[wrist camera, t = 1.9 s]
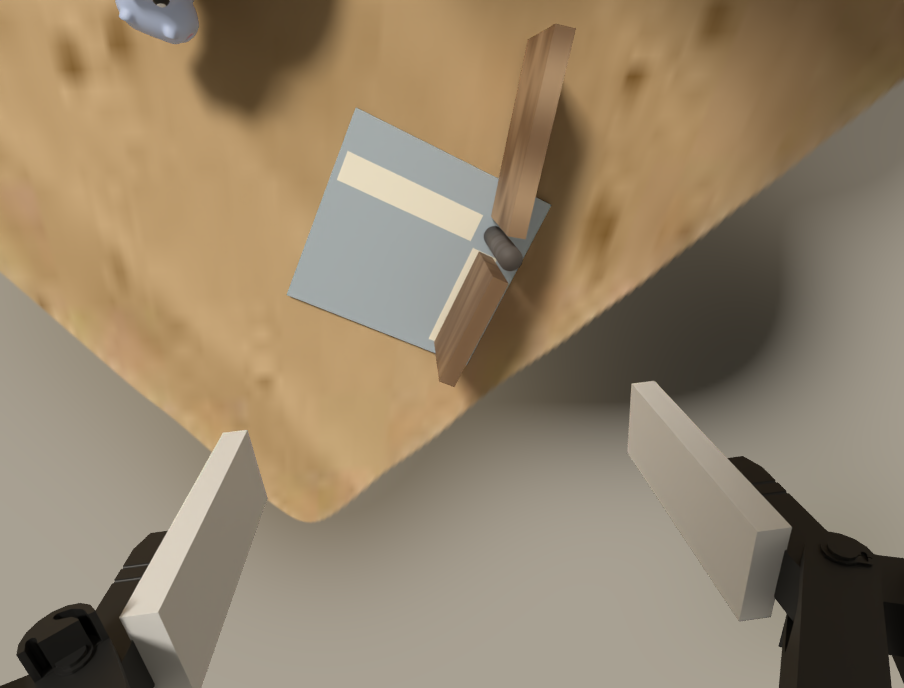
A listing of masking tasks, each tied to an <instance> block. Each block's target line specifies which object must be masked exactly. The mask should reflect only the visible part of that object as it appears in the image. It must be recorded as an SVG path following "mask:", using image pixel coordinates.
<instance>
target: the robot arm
mask: <svg viewBox="0 0 904 688" xmlns="http://www.w3.org/2000/svg"><path fill="white" fill-rule="evenodd" d="M629 419H630V420H629V435H628V451H627V453H628V454H629V456H630V458H631V459H632V461H633V462H634V463H635V465H636V467H637V468H638V470H639V471H640V473H641V474H642V476H643V477H644V479H645V480H646V482H647V483H648V485H649V486H650V488H651V489H652V491H653V492H654V494H655V495H656V497H657V498H658V500H659V501H660V503H661V504H662V506H663V507H664V509H665V510H666V512H667V513H668V515H669V516H670V518H671V519H672V521H673V522H674V524H675V525H676V527H677V529H678V530H679V531H680V533H681V535H682V536H683V538H684V539H685V541H686V542H687V544H688V545H689V546H690V548H691V550H692V551H693V553H694V554H695V556H696V557H697V559H698V560H699V562H700V563H701V565H702V566H703V568H704V569H705V571H706V572H707V574H708V575H709V577H710V578H711V580H712V581H713V583H714V584H715V586H716V587H717V589H718V590H719V592H720V593H721V595H722V596H723V598H724V599H725V601H726V603H727V604H728V606H729V607H730V609H731V610H732V611H733V613H734V615H735V616H736V618H737V619H738V621H746V620H753V619H760V618H767V617H771V614H772V609H773V605H774V601H775V599H776V600H777V601H778V603H779V604H780V605H781V606H782V608H783V609H784V610H785V612H786V613H787V615H786V619H785V623H784V627H783V631H782V635H781V639H780V643H779V647H782V657H781V669H780V681H779V688H892V687H891V677H890V667H889V657H888V655H892V657H893V659H894V661H895V663H896V666H897V668H898V671H899V673H900V676H901V678H902V680H903V683H904V558H897V557H888V556H880V555H875V554H873V553H872V552H871V551H870V550H869V549H868V548H867V547H866V546H864V545H863V544H861V543H860V542H858V541H857V540H855V539H853V538H850V537H848V536H845V535H842V534H839V533H833V532H828V531H827V530H826V529H824V528H823V527H822V526H821V525H820V524H819V523H818V522H817V521H816V520H815V519H814V518H813V517H812V516H811V515H810V514H809V513H808V512H807V511H806V510H805V509H804V508H803V507H802V506H801V505H800V504H799V503H798V502H797V501H796V500H795V499H794V498H793V497H792V496H791V495H790V494H788V493H786V490H785V489H784V488H783V487H782V486H781V485H780V484H779V483H776V482H775V479H774V478H772V476H771V475H770V474H769V473H768V472H767V471H765V470H764V469H763V468H762V467H761V466H759V465H758V464H756V463H754V462H752V461H751V460H749V459H747V458H745V457H743V456H741V457H733V458H726V457H725V455H724V454H723V453H722V452H721V451H720V450H719V449H718V448H717V447H716V446H715V445H714V444H713V443H712V442H711V440H710V439H709V438H708V437H707V436H706V435H705V434H704V433H703V432H702V431H701V430H700V429H699V428H698V427H697V426H696V425H695V424H694V423H693V421H692V420H691V419H690V418H689V417H688V416H687V415H686V414H685V413H684V412H683V411H682V410H681V409H680V408H679V406H678V405H676V403H675V402H674V401H673V400H672V399H671V398H670V397H669V396H668V395H667V394H666V393H665V392H664V391H663V390H662V388H660V387H659V385H658V384H657V383H656V382H655V381H650V382H642V383H634V384H632V387H631V403H630V418H629ZM266 501H267V495H266V491H265V488H264V484H263V481H262V478H261V474H260V471H259V468H258V464H257V461H256V457H255V454H254V451H253V447H252V444H251V440H250V437H249V434H248V430H243V431H234V432H226V433H223V434H222V436H221V437H220V439H219V441H218V443H217V444H216V446H215V448H214V450H213V452H212V453H211V455H210V457H209V459H208V460H207V462H206V464H205V466H204V468H203V469H202V471H201V473H200V475H199V477H198V478H197V480H196V482H195V484H194V485H193V487H192V489H191V491H190V493H189V494H188V496H187V498H186V500H185V501H184V503H183V505H182V507H181V509H180V510H179V512H178V514H177V516H176V518H175V519H174V521H173V523H172V525H171V527H170V528H169V530H168V531H163V532H156V533H150V534H149V535H148V536H147V537H146V538H145V539H144V540H143V541H142V542H141V543H140V544H138V545H137V546H136V547H135V548H134V549H133V551H132V552H131V554H130V556H129V557H128V559H127V560H126V562H125V564H124V565H123V569H121V570H120V572H119V574H118V575H117V577H116V578H115V582H114V583H113V584H112V585H111V586H110V588H109V590H108V591H107V593H106V594H105V596H104V598H103V599H102V601H101V603H100V604H99V606H98V607H97V609H96V611H95V610H94V609H93V608H92V606H91V605H88V604H82V603H78V604H73V605H68V606H65V607H63V608H60V609H58V610H56V611H54V612H52V613H50V614H49V615H47V616H46V617H44V618H42V619H41V620H40V621H38V622H37V623H36V624H35V625H34V626H33V627H32V628H31V629H30V630H29V631H28V632H26V634H25V635H24V637H23V638H22V640H21V642H20V643H19V645H18V650H17V657H18V658H19V660H20V661H21V663H22V665H23V666H24V668H25V669H26V671H27V672H28V674H29V675H27V676H25V677H22V678H19V679H17V680H14V681H12V682H10V683H7V684H5V685H2V686H0V688H201V686H202V684H203V681H204V678H205V675H206V672H207V669H208V666H209V664H210V661H211V658H212V655H213V652H214V649H215V647H216V643H217V641H218V638H219V635H220V632H221V629H222V627H223V623H224V621H225V618H226V615H227V612H228V609H229V607H230V604H231V601H232V598H233V595H234V592H235V590H236V587H237V584H238V581H239V578H240V575H241V572H242V569H243V567H244V564H245V561H246V558H247V555H248V552H249V549H250V547H251V544H252V541H253V538H254V535H255V532H256V530H257V527H258V524H259V521H260V518H261V515H262V513H263V509H264V507H265V504H266Z"/></svg>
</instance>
